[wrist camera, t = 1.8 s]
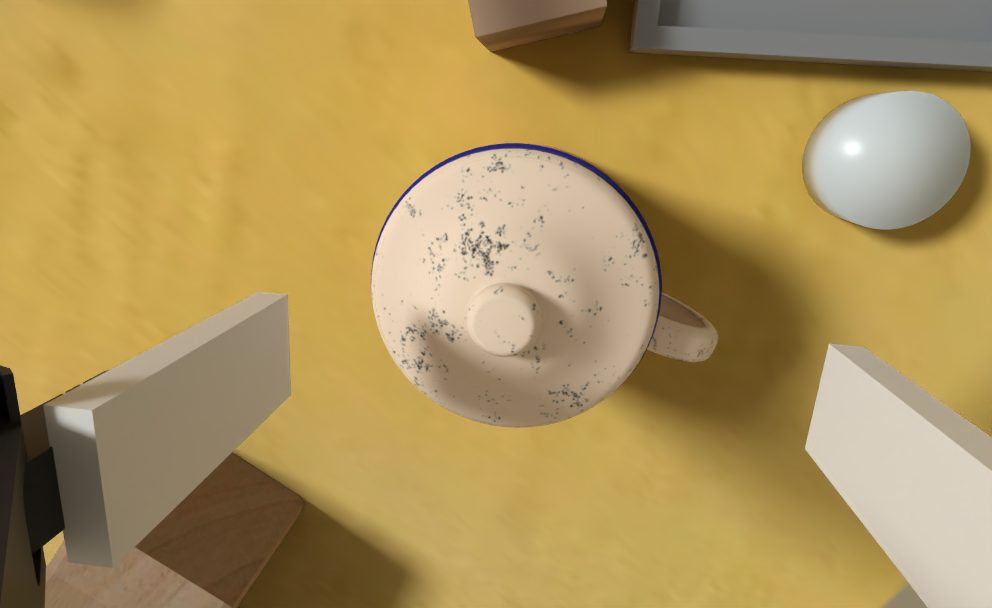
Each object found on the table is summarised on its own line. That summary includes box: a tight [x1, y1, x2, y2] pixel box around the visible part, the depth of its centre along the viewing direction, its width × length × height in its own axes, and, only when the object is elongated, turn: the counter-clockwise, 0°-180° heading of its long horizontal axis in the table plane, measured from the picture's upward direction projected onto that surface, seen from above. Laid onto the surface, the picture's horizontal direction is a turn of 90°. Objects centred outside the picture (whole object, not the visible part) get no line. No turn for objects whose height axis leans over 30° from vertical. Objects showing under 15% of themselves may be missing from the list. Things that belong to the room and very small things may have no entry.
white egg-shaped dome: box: [802, 91, 971, 230], centre depth 23 cm, size 5×5×2 cm
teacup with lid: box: [371, 143, 718, 428], centre depth 21 cm, size 12×9×12 cm
